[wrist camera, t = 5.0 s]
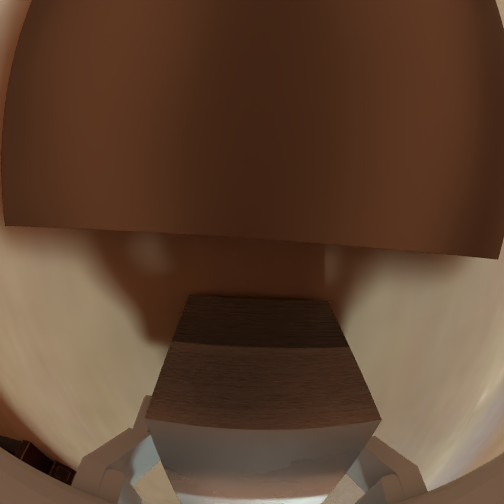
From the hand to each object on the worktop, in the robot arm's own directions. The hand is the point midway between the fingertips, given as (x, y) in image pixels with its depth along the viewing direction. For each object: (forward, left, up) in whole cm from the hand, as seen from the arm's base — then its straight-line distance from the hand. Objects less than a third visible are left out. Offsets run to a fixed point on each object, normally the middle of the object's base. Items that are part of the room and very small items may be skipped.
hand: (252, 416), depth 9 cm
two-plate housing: (0, 0, -2) cm, 2 cm away
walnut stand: (0, -13, -2) cm, 13 cm away
